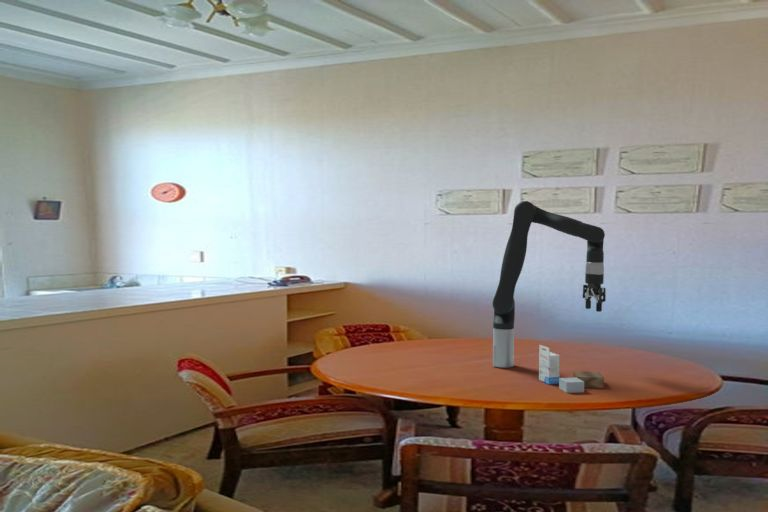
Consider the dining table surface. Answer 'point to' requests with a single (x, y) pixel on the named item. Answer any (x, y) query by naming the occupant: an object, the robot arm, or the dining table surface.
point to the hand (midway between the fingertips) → (593, 310)
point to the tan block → (590, 378)
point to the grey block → (571, 385)
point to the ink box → (548, 366)
